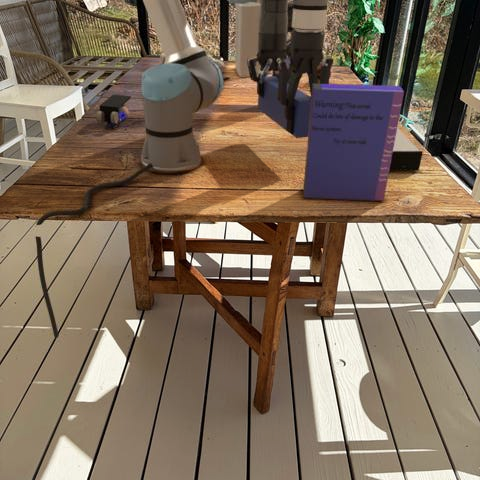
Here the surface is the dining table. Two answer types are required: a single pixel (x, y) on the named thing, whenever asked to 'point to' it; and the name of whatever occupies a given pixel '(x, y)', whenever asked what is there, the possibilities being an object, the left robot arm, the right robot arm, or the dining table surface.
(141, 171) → the left robot arm
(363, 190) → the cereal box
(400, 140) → the disc drive
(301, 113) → the bar
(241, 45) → the tall white block
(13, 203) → the dining table surface
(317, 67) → the anatomical model
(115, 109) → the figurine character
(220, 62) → the toy
